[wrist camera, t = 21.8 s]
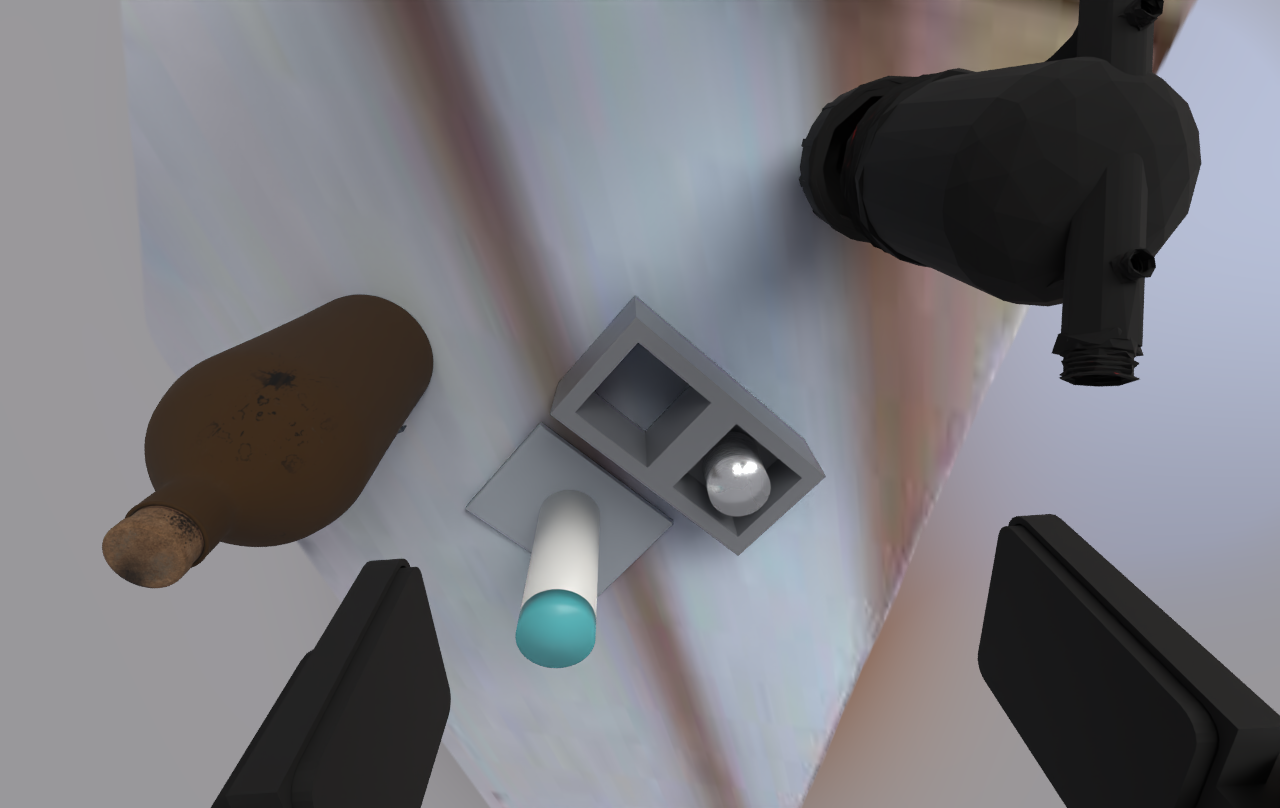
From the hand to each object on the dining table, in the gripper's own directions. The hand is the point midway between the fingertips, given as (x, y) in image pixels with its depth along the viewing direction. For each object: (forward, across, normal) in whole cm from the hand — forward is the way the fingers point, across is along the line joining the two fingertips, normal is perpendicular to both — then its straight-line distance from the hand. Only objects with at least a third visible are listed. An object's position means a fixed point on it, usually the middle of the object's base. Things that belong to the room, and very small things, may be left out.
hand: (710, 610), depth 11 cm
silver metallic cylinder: (+36, -5, +17) cm, 40 cm away
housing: (+38, -2, +13) cm, 41 cm away
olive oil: (+38, +21, +7) cm, 45 cm away
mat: (+38, +8, +22) cm, 45 cm away
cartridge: (+38, +8, +22) cm, 44 cm away
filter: (+38, -14, -6) cm, 41 cm away
